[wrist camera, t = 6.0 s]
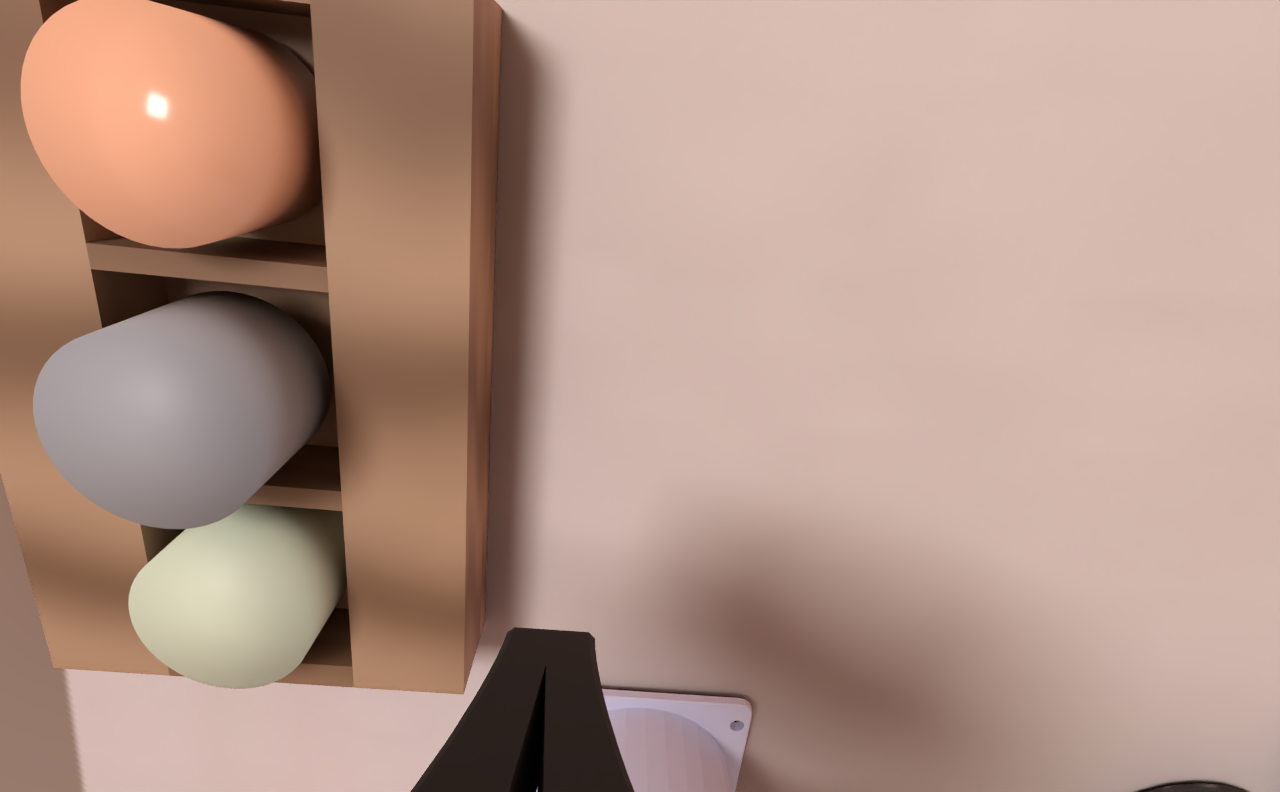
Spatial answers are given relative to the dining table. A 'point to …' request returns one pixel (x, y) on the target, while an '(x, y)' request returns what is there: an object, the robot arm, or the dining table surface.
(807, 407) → the dining table surface
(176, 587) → the key sage
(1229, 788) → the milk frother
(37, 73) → the peach rounded block
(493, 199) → the brown wooden flat frame
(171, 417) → the key slate
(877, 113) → the dining table surface
